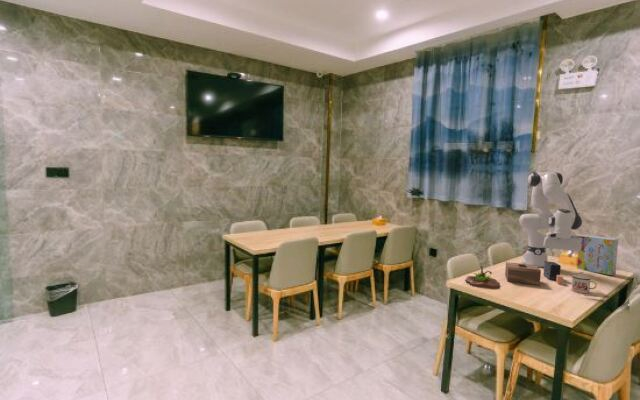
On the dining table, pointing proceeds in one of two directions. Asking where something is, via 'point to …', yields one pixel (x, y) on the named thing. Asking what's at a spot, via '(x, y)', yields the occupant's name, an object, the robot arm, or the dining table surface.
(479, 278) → the plant
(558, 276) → the orange block
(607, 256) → the snack box
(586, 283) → the teacup with lid
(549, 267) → the small box
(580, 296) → the dining table surface
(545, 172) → the robot arm
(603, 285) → the dining table surface
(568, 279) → the dining table surface
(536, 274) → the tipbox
